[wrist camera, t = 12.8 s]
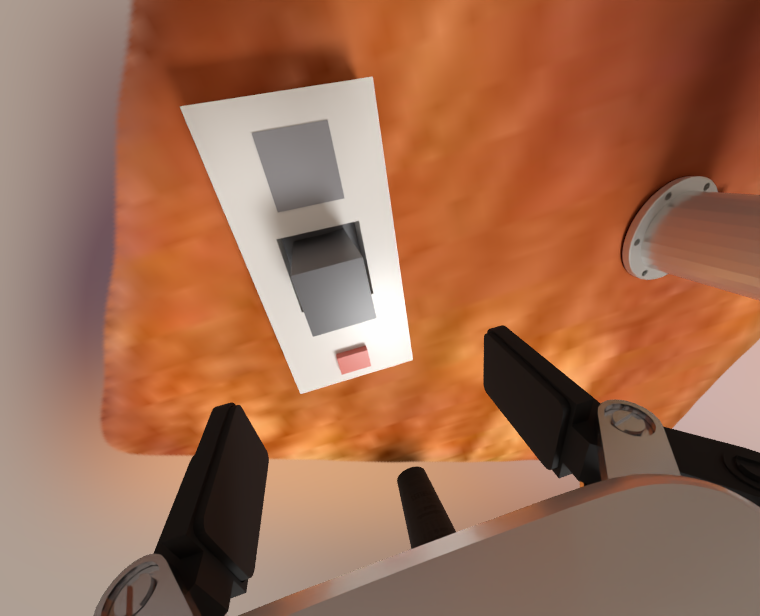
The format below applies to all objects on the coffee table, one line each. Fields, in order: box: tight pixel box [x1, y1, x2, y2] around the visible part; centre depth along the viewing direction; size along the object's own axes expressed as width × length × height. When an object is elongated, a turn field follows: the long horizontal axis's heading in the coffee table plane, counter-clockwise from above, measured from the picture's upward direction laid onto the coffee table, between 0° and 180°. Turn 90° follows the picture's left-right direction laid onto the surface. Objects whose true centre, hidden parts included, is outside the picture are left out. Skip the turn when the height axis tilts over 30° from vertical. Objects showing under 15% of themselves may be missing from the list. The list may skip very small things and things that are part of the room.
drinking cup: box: [397, 467, 456, 549], centre depth 38 cm, size 8×8×20 cm
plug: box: [291, 229, 376, 337], centre depth 22 cm, size 4×4×9 cm
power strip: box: [180, 77, 413, 394], centre depth 25 cm, size 12×24×5 cm, turn 10°
